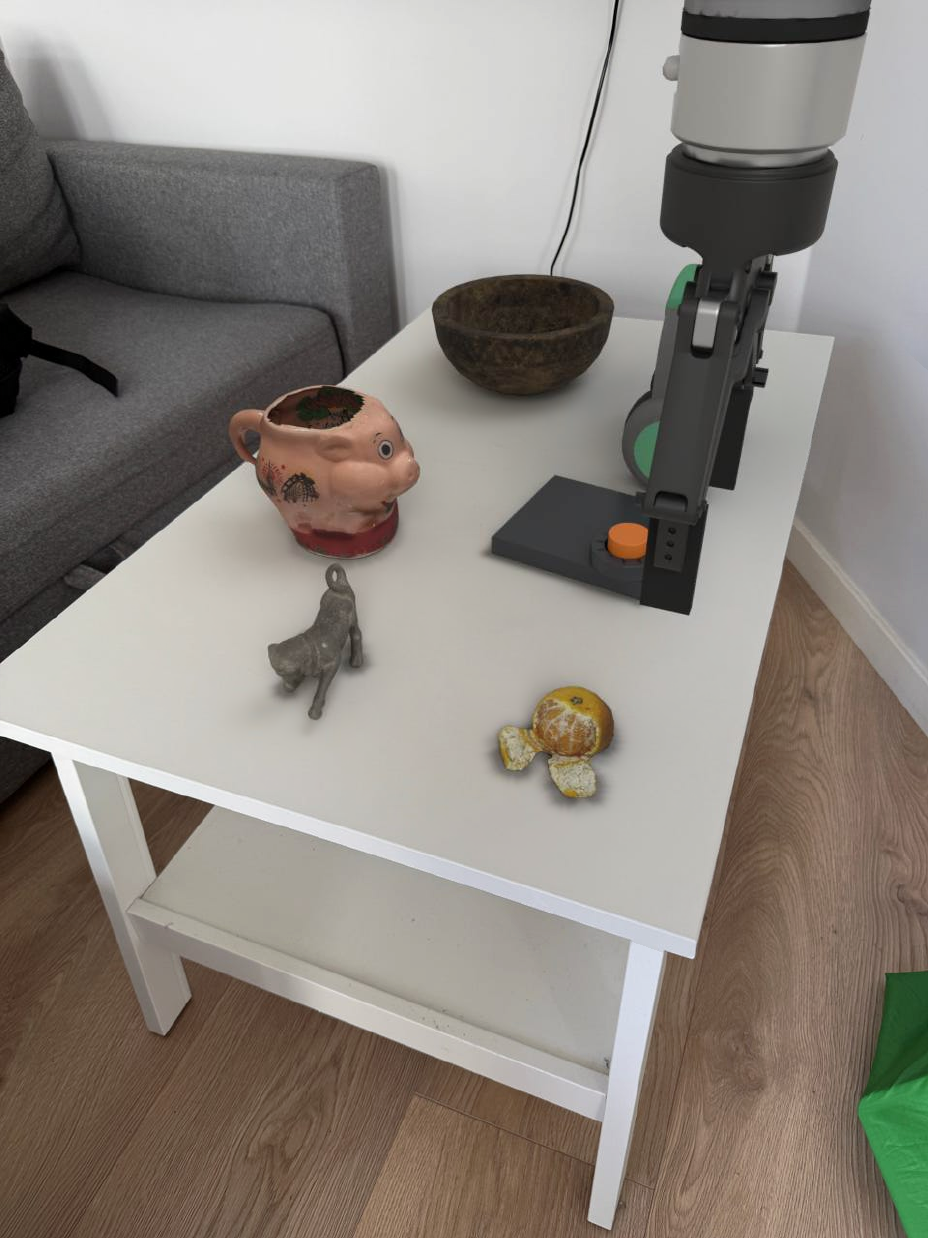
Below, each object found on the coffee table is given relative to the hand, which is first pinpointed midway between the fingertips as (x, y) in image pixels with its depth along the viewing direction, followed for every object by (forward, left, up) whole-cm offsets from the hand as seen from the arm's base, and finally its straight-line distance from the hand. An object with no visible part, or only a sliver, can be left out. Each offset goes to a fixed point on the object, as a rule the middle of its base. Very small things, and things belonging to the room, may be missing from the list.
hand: (691, 540), depth 54 cm
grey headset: (+14, -42, -19) cm, 48 cm away
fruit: (+7, +3, -19) cm, 20 cm away
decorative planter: (+39, -12, -19) cm, 45 cm away
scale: (+16, -23, -19) cm, 33 cm away
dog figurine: (+27, +5, -19) cm, 33 cm away
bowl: (+39, -51, -19) cm, 66 cm away
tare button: (+11, -19, -15) cm, 26 cm away
